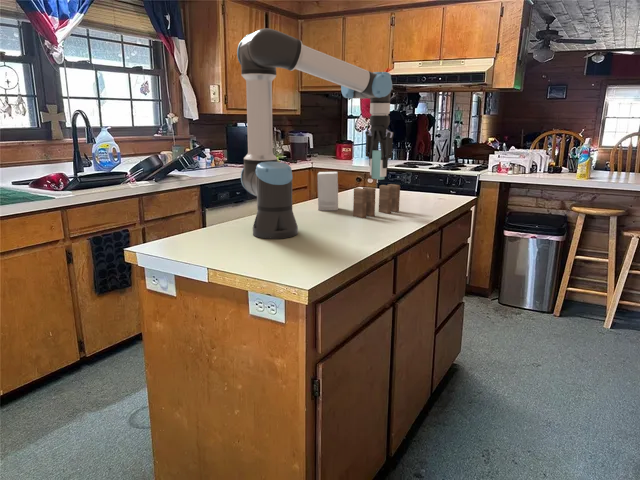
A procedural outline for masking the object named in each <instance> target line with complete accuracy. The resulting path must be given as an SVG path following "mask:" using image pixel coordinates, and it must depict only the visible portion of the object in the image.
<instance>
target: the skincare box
mask: <svg viewBox="0 0 640 480" xmlns="http://www.w3.org/2000/svg"><path fill="white" fill-rule="evenodd" d="M316 175H317V205H318V210H317V211H338V209H339V181H338V180H339V177H338V171H318V173H317V174H316Z"/></svg>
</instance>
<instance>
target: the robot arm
mask: <svg viewBox="0 0 640 480" xmlns="http://www.w3.org/2000/svg"><path fill="white" fill-rule="evenodd" d="M236 56H237V60H238V62H239V64H240V69H241V70H240V71H241V77H242V78H243V79H244V80H245V83H246V84H245V86H246V91H245V92H246V123H247V125H246V126H247V132H246V133H247V154H246V155H245V156H244V157H243V168H242V169H241V172H240V181H241V185H242V187H243V188H244V189H245V191H246V192H248V193H249V194H250V195H253V196H255V197H256V204H257V205H256V207H257V208H256V210H257V211H256V214H255V218H254V222H253V224H252V225H253V226H252V235H253V236H254V237H257V238H261V239H268V240H269V239H270V240H276V239H279V240H280V239H287V238H292V237H294V236H297V235H298V234H299V227H298V224H297V220H296V218H295V215H294V212H293V179H294V177H293V171H292V170H293V169H292V167H291V165H289V164H288V163H286V162H279V161H278V157H277V156H276V155H275V153H273V152H274V149H273V143H274V142H273V139H274V138H273V134H274V133H273V81H274V80H275V79H276V77H277V69H278V68H279V69H285V70H287V71H290V72H291V71H292V72H293V71H294V70H297V71H299V72H303V73H306V74H308V75H311V76H313V77H316V78H319V79H322V80H325V81H328V82H330V83H334V84H336V85H339V86H340V88H341V89H340V91H341V92H340V93H341V94H342V97H343V98H345V99H352V100H353V99H359V100H360V99H361V100H362V99H368V100H369V99H370V100H369V101H370V102H369V103H370V105H369V107H370V108H369V114H370V116H369V125H370V129H369V130H366V131H365V133H364V134H365V156H366V157H367V158H369V162H368V164H369V176H372V150H378V145H379V146H380V150H381V154H382V159H381V160H380V177H384V178H385V177H387V168H388V165H389V164H388V163H389V160H390V159H392V158H393V146H394V145H393V140H394V135H395V132H394V131H390V130H389V127H388V126H390V120H391V119H390V117H391V116H390V115H389V114H390V113H391V91H392V89H393V80H392V75H391V73H390V72H387V71H373V72H372V71H370V70H368V69H364V68H362V67H360V66H357V65H355V64H352V63H349V62H347V61H345V60H342V59H339V58H337V57H334V56H331V54H327V53H325V52H323V51H319V50H317V49H314V48H312V47H310V46H307V45H305V44H303V42H302V40H301V39H298V38H297V37H294V36H292V35H289V34H287V33H284V32H282V31H279V30H277V29H273V28H270V27H269V28H267V27H266V28H260V29H257V30H256V31H254V32H251V33H249V34H246V35H245V36H244V37H243V38H242V39H241V41H240V42H239V43H238V46H237V50H236Z"/></svg>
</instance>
